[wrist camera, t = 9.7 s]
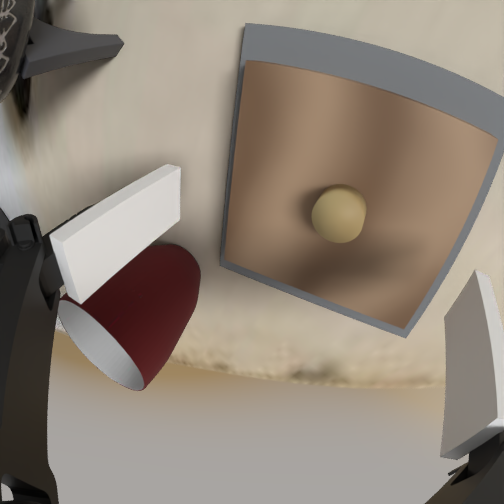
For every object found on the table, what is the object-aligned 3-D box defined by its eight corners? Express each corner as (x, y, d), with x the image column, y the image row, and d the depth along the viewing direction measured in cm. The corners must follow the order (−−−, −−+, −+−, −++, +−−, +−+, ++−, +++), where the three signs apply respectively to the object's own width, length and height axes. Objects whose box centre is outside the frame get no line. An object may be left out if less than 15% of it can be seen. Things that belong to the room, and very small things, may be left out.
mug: (145, 295, 30) (78, 362, 23) (113, 223, 27) (29, 286, 19) (235, 309, 25) (165, 405, 18) (206, 218, 22) (103, 310, 14)
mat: (223, 261, 23) (219, 265, 23) (250, 24, 13) (245, 23, 13) (406, 332, 19) (405, 338, 19) (514, 103, 10) (518, 105, 9)
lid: (234, 248, 21) (213, 271, 19) (257, 60, 14) (231, 60, 12) (405, 313, 18) (401, 346, 16) (490, 133, 11) (508, 146, 9)
